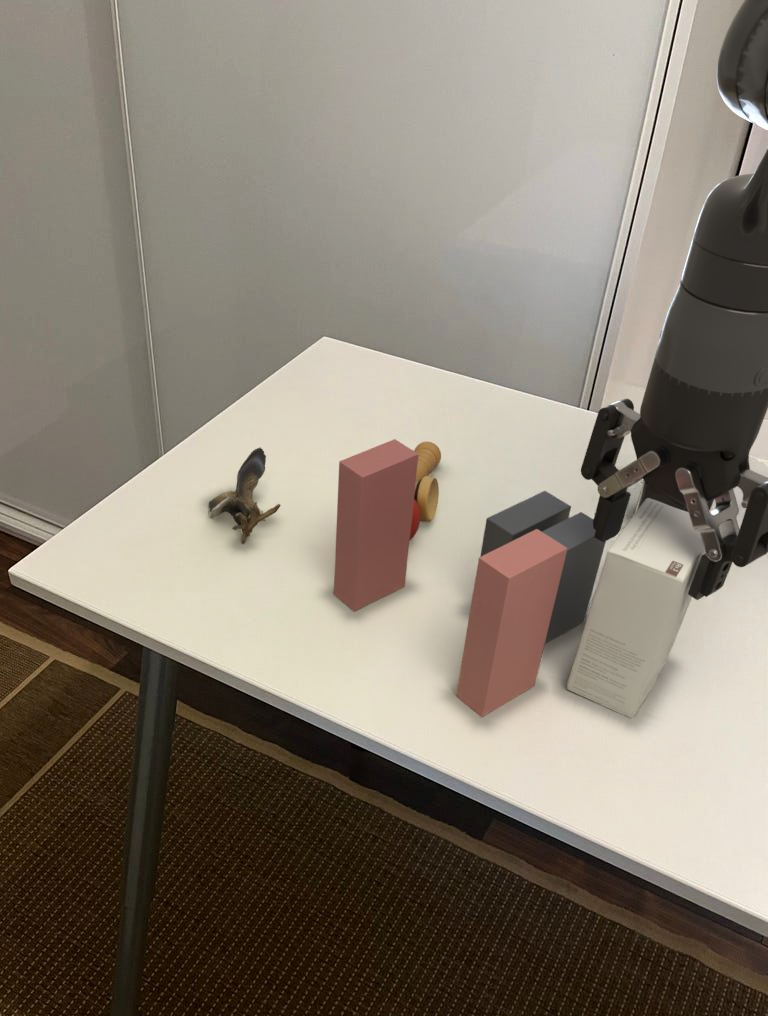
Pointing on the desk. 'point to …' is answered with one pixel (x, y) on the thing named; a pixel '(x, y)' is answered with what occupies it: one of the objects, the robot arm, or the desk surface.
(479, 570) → the rose book
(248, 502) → the eagle figurine
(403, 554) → the rose book
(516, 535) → the grey book
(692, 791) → the desk surface
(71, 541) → the desk surface
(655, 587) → the cosmetic box
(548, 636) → the grey book
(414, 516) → the kendama
